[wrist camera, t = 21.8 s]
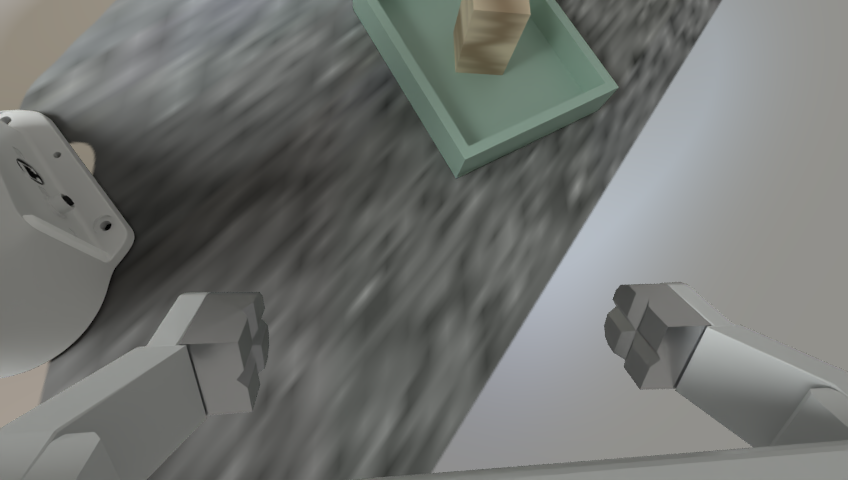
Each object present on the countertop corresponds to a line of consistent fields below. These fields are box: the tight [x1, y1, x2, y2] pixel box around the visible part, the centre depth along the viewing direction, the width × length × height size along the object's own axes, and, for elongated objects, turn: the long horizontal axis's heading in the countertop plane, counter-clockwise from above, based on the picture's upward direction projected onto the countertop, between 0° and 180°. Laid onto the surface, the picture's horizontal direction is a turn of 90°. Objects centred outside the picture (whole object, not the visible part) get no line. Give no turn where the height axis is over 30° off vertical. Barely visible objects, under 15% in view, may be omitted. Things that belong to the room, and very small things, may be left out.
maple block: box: [453, 0, 531, 75], centre depth 40 cm, size 5×5×8 cm
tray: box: [353, 0, 619, 179], centre depth 43 cm, size 22×18×4 cm
